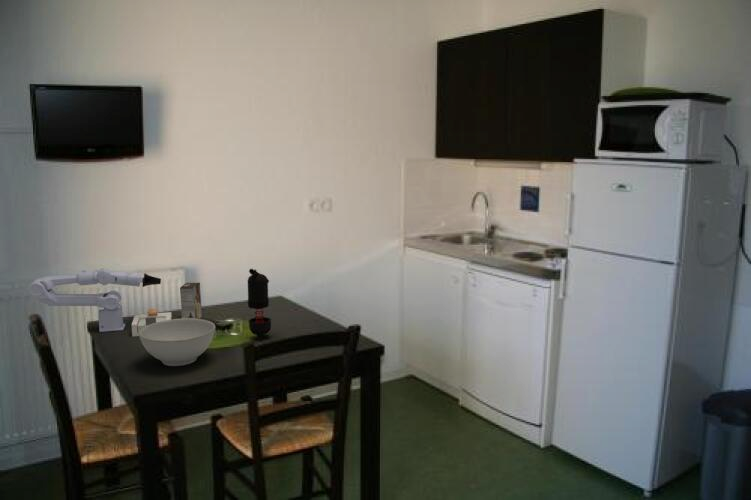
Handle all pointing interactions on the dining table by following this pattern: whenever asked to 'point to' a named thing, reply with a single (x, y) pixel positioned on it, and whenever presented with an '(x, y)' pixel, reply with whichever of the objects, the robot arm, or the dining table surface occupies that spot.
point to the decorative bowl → (177, 339)
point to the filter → (258, 303)
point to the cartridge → (148, 322)
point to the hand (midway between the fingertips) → (160, 281)
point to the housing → (143, 316)
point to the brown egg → (152, 312)
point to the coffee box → (191, 300)
